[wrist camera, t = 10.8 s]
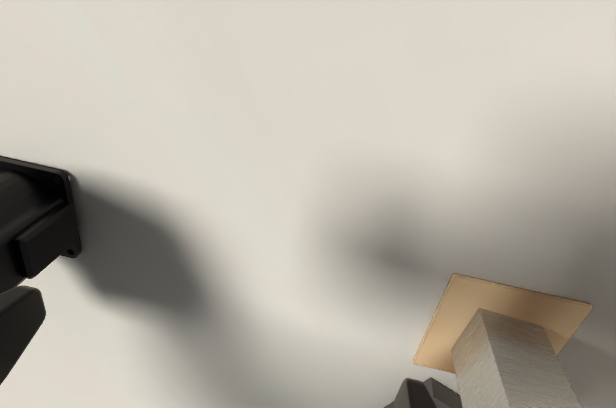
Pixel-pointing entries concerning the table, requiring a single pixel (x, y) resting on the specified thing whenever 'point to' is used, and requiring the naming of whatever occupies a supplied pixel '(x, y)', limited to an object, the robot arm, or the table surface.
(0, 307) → the robot arm
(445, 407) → the dark gray slotted board
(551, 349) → the gray block
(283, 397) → the table surface
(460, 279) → the cork pad
